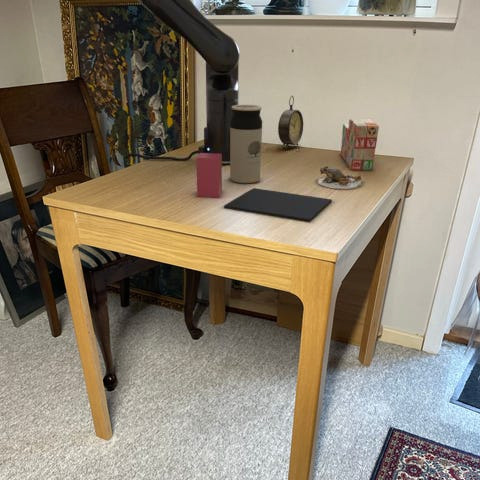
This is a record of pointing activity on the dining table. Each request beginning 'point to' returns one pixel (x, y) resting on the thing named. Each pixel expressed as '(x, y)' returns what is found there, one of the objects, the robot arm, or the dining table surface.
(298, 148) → the dining table surface
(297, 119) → the alarm clock
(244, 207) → the mat
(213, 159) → the block
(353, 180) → the frog figurine
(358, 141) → the stack of blocks
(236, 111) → the travel mug
